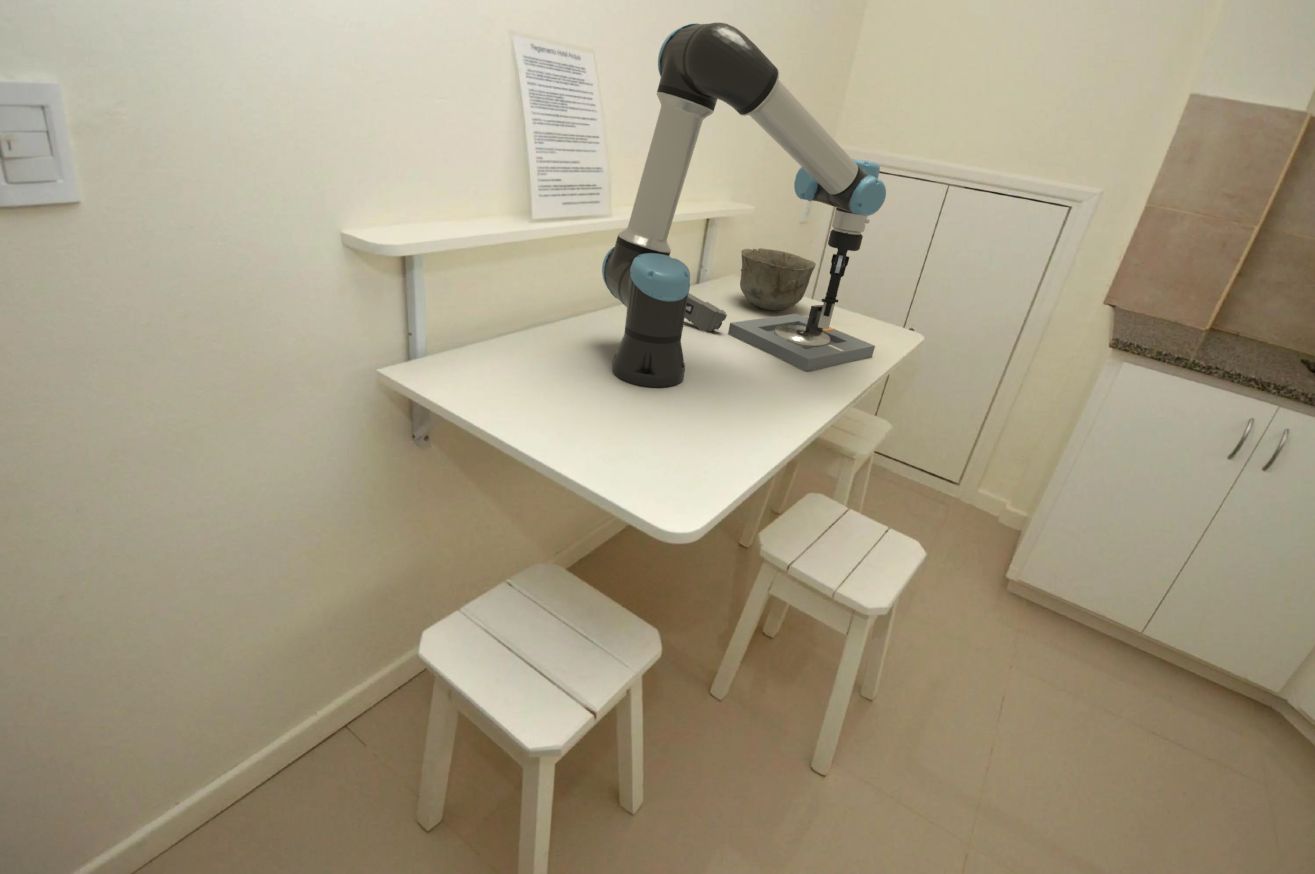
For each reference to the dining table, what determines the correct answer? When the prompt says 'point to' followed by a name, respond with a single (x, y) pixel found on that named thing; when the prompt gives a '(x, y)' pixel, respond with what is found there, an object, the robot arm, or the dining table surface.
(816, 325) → the dial
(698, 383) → the dining table surface
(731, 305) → the dining table surface
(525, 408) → the dining table surface
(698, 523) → the dining table surface
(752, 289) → the bowl
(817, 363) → the panel
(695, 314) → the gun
